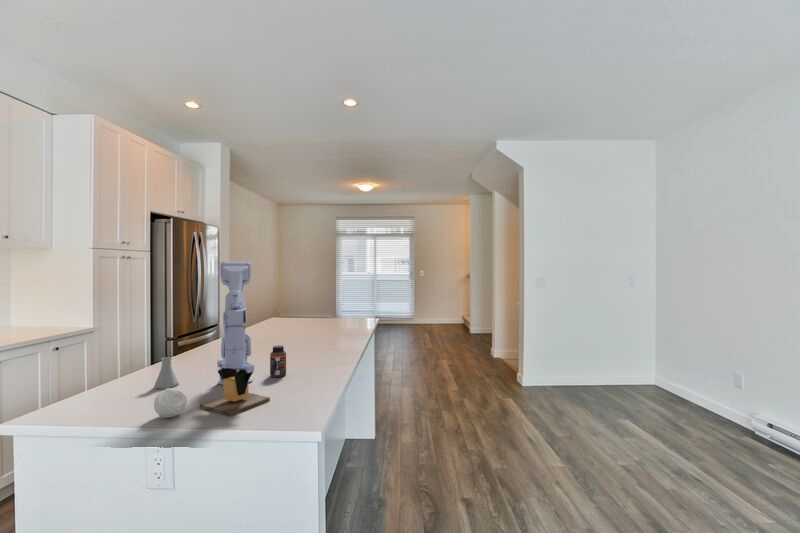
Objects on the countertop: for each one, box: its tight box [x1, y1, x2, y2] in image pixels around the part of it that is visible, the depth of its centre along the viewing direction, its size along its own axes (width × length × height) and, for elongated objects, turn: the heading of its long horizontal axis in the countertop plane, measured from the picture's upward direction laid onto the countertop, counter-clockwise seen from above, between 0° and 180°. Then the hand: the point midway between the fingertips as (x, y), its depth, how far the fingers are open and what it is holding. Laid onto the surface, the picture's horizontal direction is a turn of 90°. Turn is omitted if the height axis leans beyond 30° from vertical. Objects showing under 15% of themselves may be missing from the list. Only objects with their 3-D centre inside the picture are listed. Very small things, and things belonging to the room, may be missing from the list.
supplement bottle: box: [269, 344, 287, 378], centre depth 144 cm, size 6×6×11 cm
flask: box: [153, 356, 180, 390], centre depth 132 cm, size 7×7×10 cm
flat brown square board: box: [199, 392, 271, 417], centre depth 114 cm, size 14×14×4 cm
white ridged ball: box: [153, 387, 188, 419], centre depth 105 cm, size 8×8×8 cm
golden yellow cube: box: [222, 376, 249, 401], centre depth 114 cm, size 5×5×6 cm
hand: (235, 393), depth 114 cm, fingers closed on golden yellow cube, 5 cm apart
